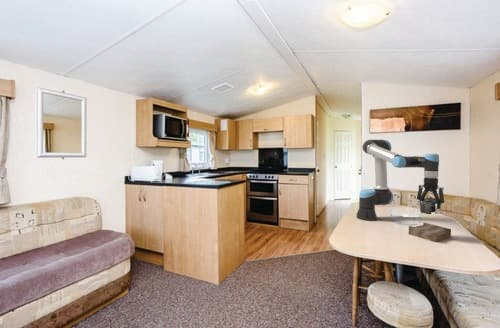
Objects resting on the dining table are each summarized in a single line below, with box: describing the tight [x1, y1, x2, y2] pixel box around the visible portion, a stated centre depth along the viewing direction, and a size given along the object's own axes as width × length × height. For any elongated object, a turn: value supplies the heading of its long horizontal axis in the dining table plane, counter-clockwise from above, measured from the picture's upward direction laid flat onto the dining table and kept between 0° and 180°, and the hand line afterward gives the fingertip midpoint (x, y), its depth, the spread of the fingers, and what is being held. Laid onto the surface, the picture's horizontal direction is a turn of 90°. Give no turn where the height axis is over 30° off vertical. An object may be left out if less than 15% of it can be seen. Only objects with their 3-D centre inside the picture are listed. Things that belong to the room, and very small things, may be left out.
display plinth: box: [408, 222, 452, 243], centre depth 162 cm, size 16×18×6 cm
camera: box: [419, 196, 437, 215], centre depth 162 cm, size 13×10×10 cm
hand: (429, 212), depth 162 cm, fingers closed on camera, 8 cm apart
